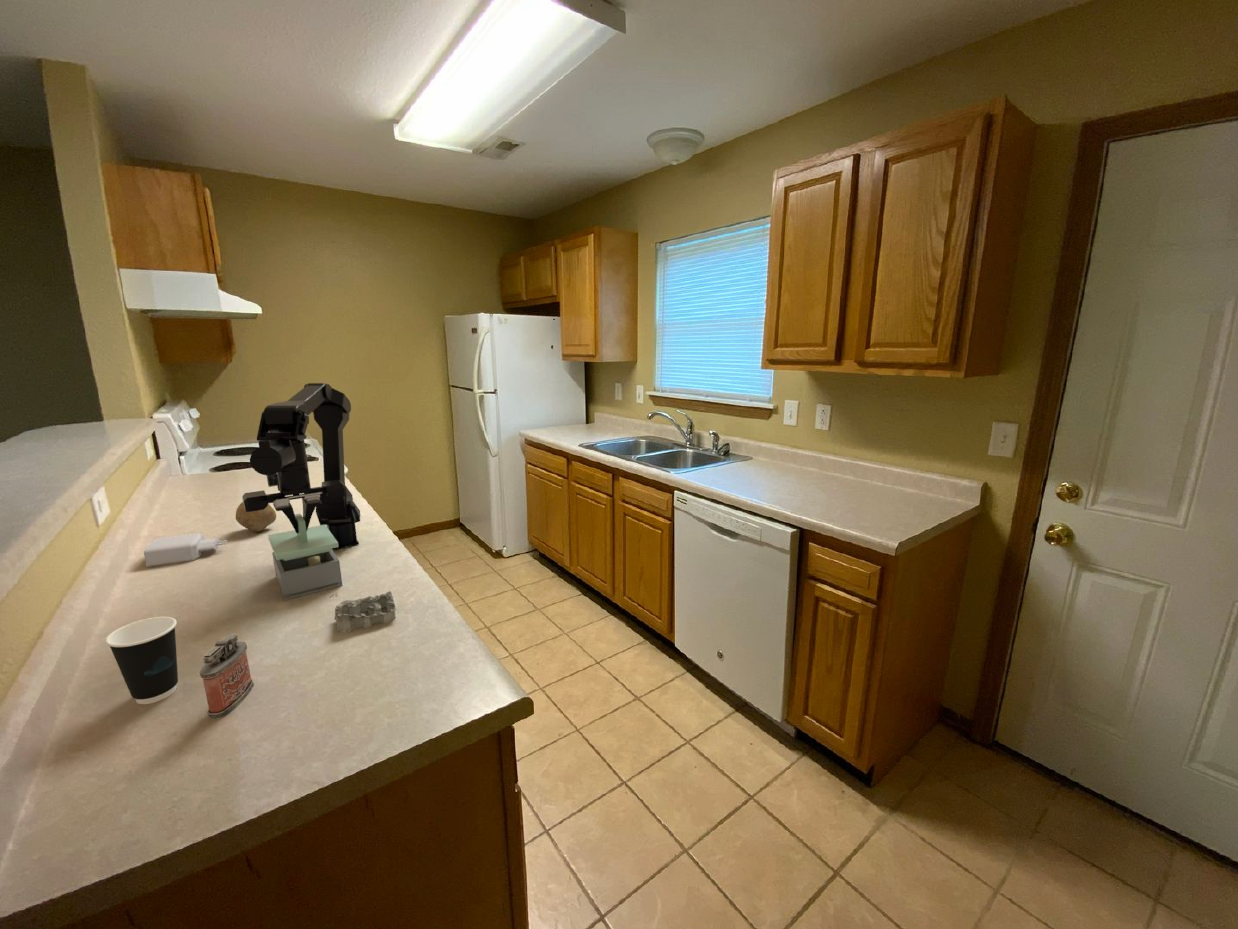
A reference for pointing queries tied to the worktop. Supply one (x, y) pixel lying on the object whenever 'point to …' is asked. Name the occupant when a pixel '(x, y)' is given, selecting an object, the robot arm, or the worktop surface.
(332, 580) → the tub
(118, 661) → the dixie cup
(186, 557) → the charger
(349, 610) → the egg carton
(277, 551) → the lid
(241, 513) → the brown potato
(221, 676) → the lighter
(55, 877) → the worktop surface
